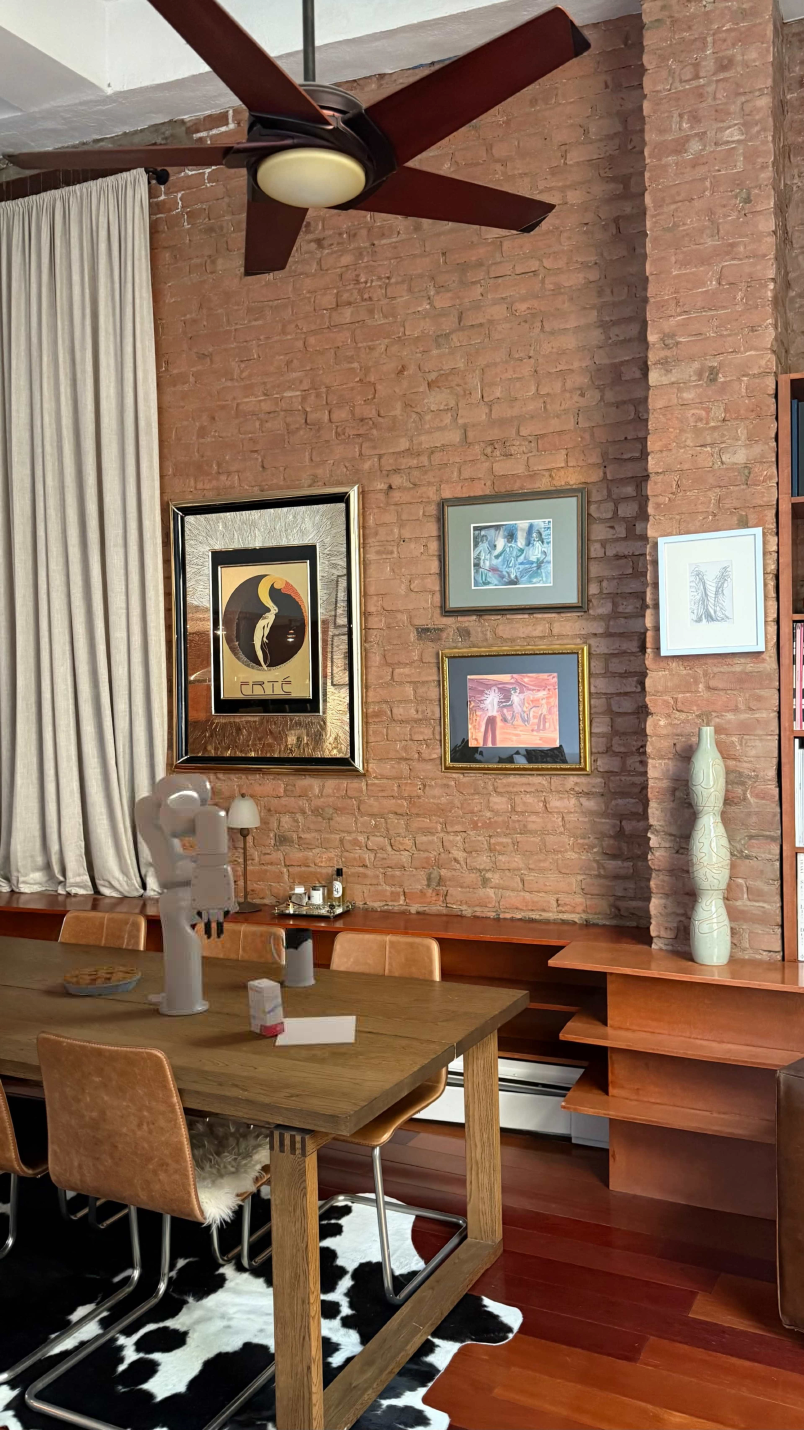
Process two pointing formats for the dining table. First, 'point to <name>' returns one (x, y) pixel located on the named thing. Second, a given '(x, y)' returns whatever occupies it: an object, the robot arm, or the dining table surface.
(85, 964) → the dining table surface
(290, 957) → the tall grey black mug
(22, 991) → the dining table surface
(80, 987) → the pie
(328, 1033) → the mat
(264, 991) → the ink box
